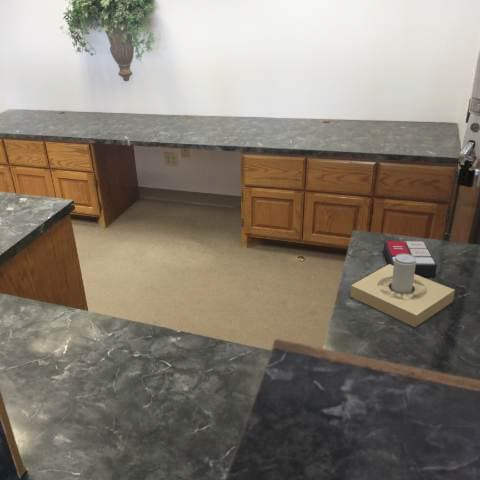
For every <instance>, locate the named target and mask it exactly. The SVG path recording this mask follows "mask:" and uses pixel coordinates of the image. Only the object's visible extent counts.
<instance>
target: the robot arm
mask: <svg viewBox="0 0 480 480" xmlns="http://www.w3.org/2000/svg"><path fill="white" fill-rule="evenodd" d="M468 112H469V113H470V114H469V117H468V121H467V124H466V128H465V131H464V135H463V137H464V138H463V142H462V147H461V150H460V152H458V155H457V156H458V169H459V170H458V176H457V182H456V184H457V185H458V186H462V187H467V188H472V187H473V186H474V182H475V176H476V169H475V168H476V166H477V164H478V162H479V161H480V50H478V53H477V58H476V65H475V71H474V78H473V83H472V90H471V94H470V102H469V108H468ZM470 161H471V162H470Z"/></svg>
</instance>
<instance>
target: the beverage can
mask: <svg viewBox="0 0 480 480" xmlns="http://www.w3.org/2000/svg"><path fill="white" fill-rule="evenodd" d="M415 266H416V258H415V257H414V256H412V255H410V254H398V255H396V257H395V260H394V269H393V277H392V286H391V290H392V291H393V292H396V293H399V294H410V293H412V286H413V279H414V273H415Z"/></svg>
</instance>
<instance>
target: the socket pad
mask: <svg viewBox="0 0 480 480" xmlns="http://www.w3.org/2000/svg"><path fill="white" fill-rule="evenodd" d="M393 269H394V266H393V265H390V264H387V265H385V266H383V267H381V268H379V269H378V270H376V271H374V272H372V273H371V274H369V275H367V276H365V277H363V278H362V279H360V280H358V281H356V282H354V283H353V284H351V285H350V295H349V296H350V298H352V299H354V300H357V301H359V302H360V303H362V304H365V305H367V306H368V307H371V308H374V309H376V310H377V311H380V312H381V313H384V314H386V315H388V316H390V317H392V318H394V319H396V320H398V321H399V322H402V323H404V324H407V325H409V326H411V327H413V328H416V327H418V326H419V325H421V324H422V323H424V322H425V321H427V320H429V319H430V318H431V317H433V316H434V315H435V314H437V313H438V312H440V311H441V310H444V308H446V307H448V306H449V305H451V304H452V303H453V302H454V298H455V292H456V289H455V288H451V287H448V286H446V285H443V284H441V283H439V282H436V281H434V280H432V279H428V278H427V277H421V276H418V275H416V274H414V279H413V286H412V293H410V294H399V293H396V292H393V291H392V290H391V286H392V277H393Z"/></svg>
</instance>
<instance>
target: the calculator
mask: <svg viewBox="0 0 480 480" xmlns="http://www.w3.org/2000/svg"><path fill="white" fill-rule="evenodd" d="M383 253H384V256H385V259H386V262H387V265H389V264H390V265H393V266H394V260H395V257H396V255H398V254H410V255H412V256H414V257H415V258H416V266H415V273H414V274H416V275H418V276H421V277H423V278H435V277H436V276H437V268H438V267H437V266H438V265H437V263H436V260H435V259H434V257H433V256H432V254H431V252H430V250H429V248H428V246H427V245H426V243H425V242H424V241H420V240H415V241H414V240H413V241H411V240H407V241H404V240H386V241H385V242H384V243H383Z"/></svg>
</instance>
